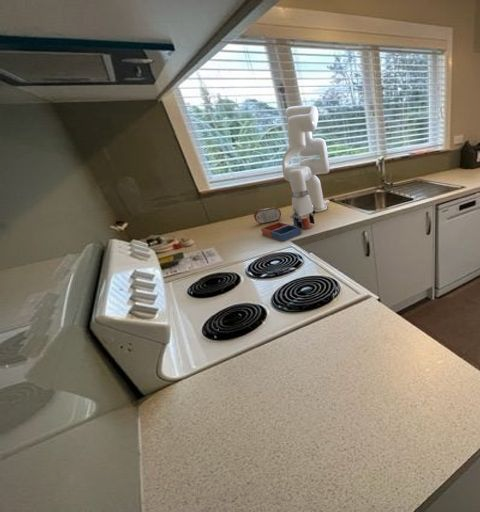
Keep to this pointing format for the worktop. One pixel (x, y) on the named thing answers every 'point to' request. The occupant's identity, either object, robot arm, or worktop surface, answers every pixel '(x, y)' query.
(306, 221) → the reddish round cylinder
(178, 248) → the worktop surface
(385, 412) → the worktop surface
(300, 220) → the small blue cylinder
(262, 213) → the tin
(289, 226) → the blue bin
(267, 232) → the terracotta bin
